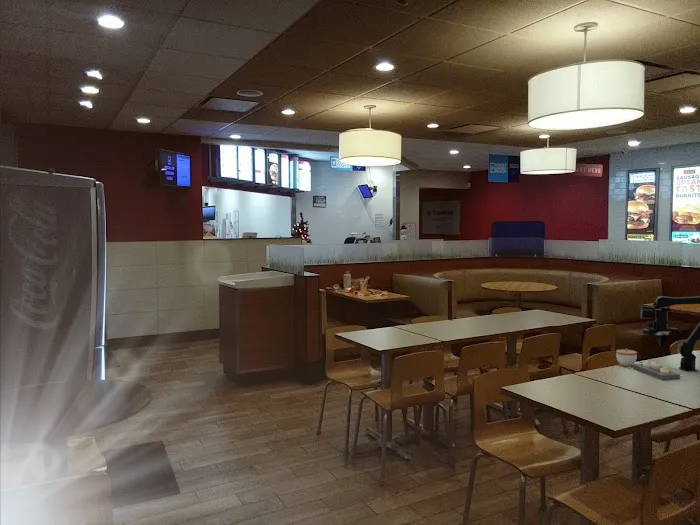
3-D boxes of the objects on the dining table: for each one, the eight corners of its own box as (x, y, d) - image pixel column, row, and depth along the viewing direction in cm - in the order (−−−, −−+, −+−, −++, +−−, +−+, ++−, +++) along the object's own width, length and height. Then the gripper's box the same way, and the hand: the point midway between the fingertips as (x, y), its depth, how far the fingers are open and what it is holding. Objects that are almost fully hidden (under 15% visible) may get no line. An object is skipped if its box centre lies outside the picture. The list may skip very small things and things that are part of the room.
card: (664, 369, 307) (664, 368, 307) (683, 376, 292) (683, 375, 292) (655, 369, 306) (655, 369, 306) (674, 376, 291) (674, 376, 291)
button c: (665, 375, 293) (665, 367, 293) (670, 377, 289) (670, 369, 289) (658, 375, 293) (658, 367, 293) (663, 377, 289) (663, 369, 289)
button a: (648, 368, 307) (648, 361, 307) (652, 370, 303) (652, 363, 303) (641, 369, 307) (641, 361, 307) (646, 370, 303) (646, 363, 303)
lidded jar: (611, 363, 321) (611, 347, 321) (624, 361, 326) (624, 346, 325) (627, 367, 311) (628, 351, 311) (641, 365, 316) (641, 349, 315)
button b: (656, 369, 300) (656, 361, 300) (661, 370, 296) (661, 363, 296) (649, 369, 300) (649, 361, 299) (654, 371, 296) (654, 363, 296)
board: (649, 367, 311) (649, 363, 310) (679, 379, 287) (680, 374, 287) (632, 368, 309) (632, 364, 309) (662, 380, 286) (662, 375, 285)
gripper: (667, 316, 318) (666, 343, 319) (636, 317, 316) (636, 344, 317) (680, 319, 307) (680, 347, 308) (649, 320, 305) (649, 348, 305)
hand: (660, 346), depth 310 cm, fingers closed
